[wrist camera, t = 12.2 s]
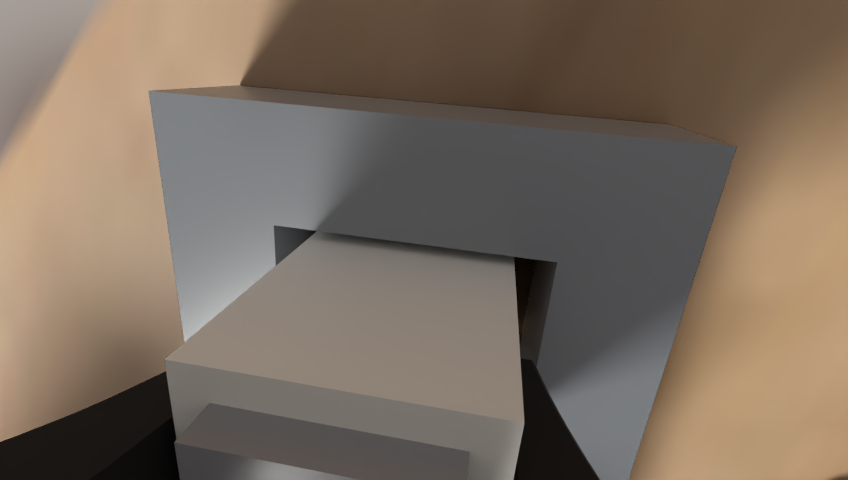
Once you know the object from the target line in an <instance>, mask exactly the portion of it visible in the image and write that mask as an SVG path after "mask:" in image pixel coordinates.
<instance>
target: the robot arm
mask: <svg viewBox="0 0 848 480" xmlns="http://www.w3.org/2000/svg"><path fill="white" fill-rule="evenodd" d="M520 360H521V376H522V392H523V408H524V428H523V433H522V438H521V443H520V448H519V453H518V458H517V463H516V469H515V474H514V479H513V480H600V479H599V477H598V476H597V474H596V472H595V471H594V469H593V468H592V466H591V465H590V463H589V462H588V460H587V458H586V457H585V455H584V454H583V452H582V450H581V449H580V447H579V445H578V444H577V442H576V440H575V439H574V437H573V435H572V434H571V432H570V430H569V429H568V427H567V425H566V423H565V422H564V420H563V418H562V416H561V415H560V413H559V411H558V409H557V407H556V405H555V404H554V402H553V400H552V398H551V396H550V394H549V392H548V390H547V388H546V386H545V384H544V382H543V380H542V378H541V376H540V374H539V372H538V370H537V367H536V366H535V364H534V363H533V362H532V360H528V359H522V358H520ZM175 441H176V433H175V427H174V420H173V414H172V407H171V401H170V394H169V388H168V381H167V374H166V372H164V373H162V374H160V375H157V376H155V377H153V378H151V379H149V380H147V381H145V382H143V383H140V384H138V385H136V386H134V387H132V388H130V389H128V390H125V391H123V392H121V393H119V394H117V395H115V396H113V397H111V398H108V399H106V400H104V401H102V402H99V403H97V404H95V405H93V406H90V407H88V408H86V409H83V410H81V411H78V412H76V413H74V414H71V415H69V416H66V417H64V418H62V419H59V420H56V421H54V422H51V423H49V424H46V425H44V426H41V427H39V428H36V429H33V430H31V431H28V432H26V433H23V434H21V435H18V436H15V437H13V438H10V439H7V440H5V441H2V442H0V480H180V477H179V471H178V464H177V458H176V451H175V445H174V442H175Z"/></svg>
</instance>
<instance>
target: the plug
mask: <svg viewBox="0 0 848 480" xmlns="http://www.w3.org/2000/svg"><path fill="white" fill-rule="evenodd" d="M164 361H165V368H166V374H167V381H168V388H169V394H170V401H171V407H172V414H173V420H174V427H175V433H176V441H175V442H174V445H175V451H176V458H177V464H178V471H179V477H180V480H513V479H514V474H515V469H516V463H517V458H518V453H519V448H520V443H521V438H522V433H523V428H524V408H523V392H522V376H521V360H520V344H519V328H518V313H517V297H516V281H515V265H514V257H512V256H505V255H497V254H489V253H482V252H474V251H466V250H459V249H451V248H443V247H436V246H428V245H421V244H413V243H405V242H398V241H390V240H382V239H375V238H367V237H360V236H352V235H344V234H337V233H329V232H321V231H317V232H316V233H314V234H313V235H312V236H311V237H310V238H308V239H307V240H306V241H305V242H304V243H302V244H301V245H300V246H299V247H298V248H296V249H295V250H294V251H293V252H292V253H291V254H289V255H288V256H287V257H286V258H285V259H283V260H282V261H281V262H280V263H279V264H277V265H276V266H275V267H274V268H273V269H271V270H270V271H269V272H268V273H267V274H265V275H264V276H263V277H262V278H261V279H259V280H258V281H257V282H256V283H255V284H254V285H252V286H251V287H250V288H249V289H248V290H246V291H245V292H244V293H243V294H242V295H240V296H239V297H238V298H237V299H236V300H234V301H233V302H232V303H231V304H230V305H228V306H227V307H226V308H225V309H224V310H223V311H221V312H220V313H219V314H218V315H217V316H215V317H214V318H213V319H212V320H211V321H209V322H208V323H207V324H206V325H205V326H203V327H202V328H201V329H200V330H199V331H197V332H196V333H195V334H194V335H193V336H192V337H190V338H189V339H188V340H187V341H186V342H184V343H183V344H182V345H181V346H180V347H178V348H177V349H176V350H175V351H174V352H172V353H171V354H170V355H169V356H168V357H166V358H165V359H164Z"/></svg>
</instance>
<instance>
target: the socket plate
mask: <svg viewBox="0 0 848 480" xmlns="http://www.w3.org/2000/svg"><path fill="white" fill-rule="evenodd" d="M149 97H150V104H151V111H152V118H153V125H154V132H155V139H156V146H157V153H158V160H159V167H160V174H161V181H162V188H163V195H164V203H165V210H166V217H167V224H168V231H169V238H170V245H171V252H172V259H173V266H174V273H175V280H176V287H177V294H178V301H179V308H180V315H181V322H182V329H183V336H184V342H186V341H187V340H188V339H189V338H190V337H192V336H193V335H194V334H195V333H196V332H197V331H199V330H200V329H201V328H202V327H203V326H205V325H206V324H207V323H208V322H209V321H211V320H212V319H213V318H214V317H215V316H217V315H218V314H219V313H220V312H221V311H223V310H224V309H225V308H226V307H227V306H228V305H230V304H231V303H232V302H233V301H234V300H236V299H237V298H238V297H239V296H240V295H242V294H243V293H244V292H245V291H246V290H248V289H249V288H250V287H251V286H252V285H254V284H255V283H256V282H257V281H258V280H259V279H261V278H262V277H263V276H264V275H265V274H267V273H268V272H269V271H270V270H271V269H273V268H274V267H275V266H276V265H277V264H279V263H280V262H281V261H282V260H283V259H285V258H286V257H287V256H288V255H289V254H291V253H292V252H293V251H294V250H295V249H296V248H298V247H299V246H300V245H301V244H302V243H304V242H305V241H306V240H307V239H308V238H310V237H311V236H312V235H313V234H314V233H316V232H317V231H321V232H329V233H337V234H344V235H352V236H360V237H367V238H375V239H382V240H390V241H398V242H405V243H413V244H421V245H428V246H436V247H443V248H451V249H459V250H466V251H474V252H482V253H489V254H497V255H505V256H512V257H520V258H527V259H535V264H534V270H533V275H532V281H531V286H530V292H529V298H528V303H527V309H526V314H525V320H524V325H523V331H522V336H521V342H520V358H522V359H528V360H532V362H533V363H534V364H535V366H536V367H537V370H538V372H539V374H540V376H541V378H542V380H543V382H544V384H545V386H546V388H547V390H548V392H549V394H550V396H551V398H552V400H553V402H554V404H555V405H556V407H557V409H558V411H559V413H560V415H561V416H562V418H563V420H564V422H565V423H566V425H567V427H568V429H569V430H570V432H571V434H572V435H573V437H574V439H575V440H576V442H577V444H578V445H579V447H580V449H581V450H582V452H583V454H584V455H585V457H586V458H587V460H588V462H589V463H590V465H591V466H592V468H593V469H594V471H595V472H596V474H597V476H598V477H599V479H600V480H628V479H629V476H630V473H631V470H632V467H633V464H634V461H635V458H636V455H637V452H638V448H639V445H640V442H641V439H642V436H643V433H644V430H645V427H646V424H647V421H648V418H649V415H650V412H651V409H652V406H653V403H654V399H655V396H656V393H657V390H658V387H659V384H660V381H661V378H662V375H663V372H664V369H665V366H666V363H667V360H668V357H669V353H670V350H671V347H672V344H673V341H674V338H675V335H676V332H677V329H678V326H679V323H680V320H681V317H682V314H683V311H684V308H685V304H686V301H687V298H688V295H689V292H690V289H691V286H692V283H693V280H694V277H695V274H696V271H697V268H698V265H699V262H700V258H701V255H702V252H703V249H704V246H705V243H706V240H707V237H708V234H709V231H710V228H711V225H712V222H713V219H714V216H715V212H716V209H717V206H718V203H719V200H720V197H721V194H722V191H723V188H724V185H725V182H726V179H727V176H728V173H729V170H730V167H731V163H732V160H733V157H734V154H735V151H736V148H737V146H734V145H730V144H727V143H724V142H721V141H718V140H715V139H712V138H709V137H706V136H703V135H700V134H697V133H694V132H691V131H688V130H685V129H682V128H679V127H676V126H673V125H669V124H658V123H647V122H636V121H625V120H614V119H602V118H591V117H580V116H569V115H558V114H547V113H536V112H525V111H514V110H503V109H492V108H481V107H470V106H459V105H448V104H437V103H426V102H415V101H404V100H393V99H382V98H371V97H360V96H349V95H338V94H327V93H316V92H305V91H294V90H282V89H271V88H260V87H249V86H221V87H205V88H188V89H172V90H155V91H149Z"/></svg>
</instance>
